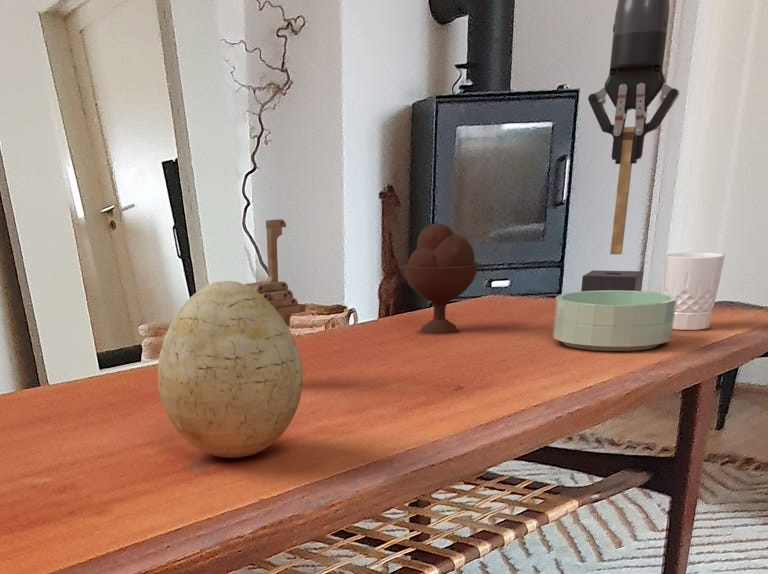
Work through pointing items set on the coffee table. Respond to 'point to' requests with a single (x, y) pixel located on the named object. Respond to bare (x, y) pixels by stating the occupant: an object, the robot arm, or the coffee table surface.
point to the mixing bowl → (614, 319)
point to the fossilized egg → (229, 371)
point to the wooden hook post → (276, 277)
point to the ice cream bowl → (440, 271)
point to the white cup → (693, 287)
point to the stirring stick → (622, 191)
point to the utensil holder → (612, 280)
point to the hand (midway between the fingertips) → (625, 163)
